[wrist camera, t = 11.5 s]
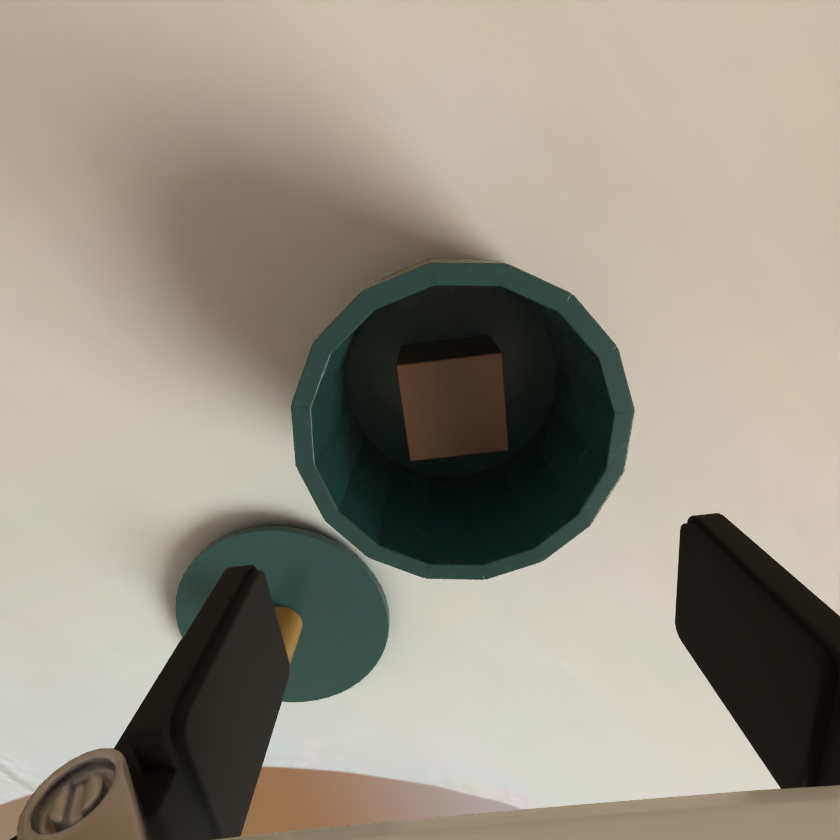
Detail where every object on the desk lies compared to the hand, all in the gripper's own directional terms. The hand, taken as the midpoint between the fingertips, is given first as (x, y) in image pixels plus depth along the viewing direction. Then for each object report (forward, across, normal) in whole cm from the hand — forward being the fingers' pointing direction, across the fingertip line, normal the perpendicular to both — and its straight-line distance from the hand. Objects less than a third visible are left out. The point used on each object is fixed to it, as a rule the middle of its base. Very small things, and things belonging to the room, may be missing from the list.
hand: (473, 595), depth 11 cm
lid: (+18, +13, +15) cm, 27 cm away
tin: (+19, -1, 0) cm, 19 cm away
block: (+18, 0, 0) cm, 18 cm away
